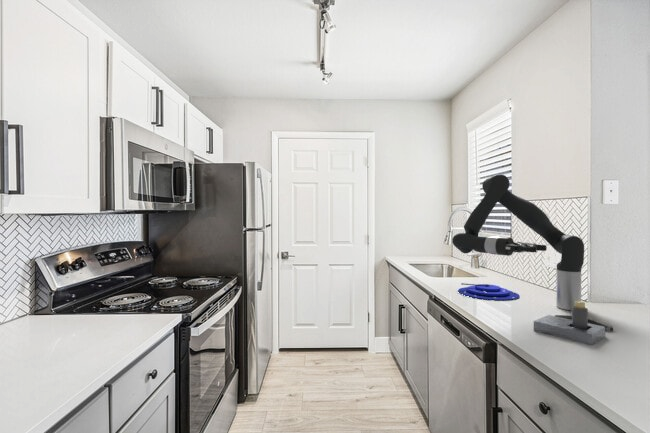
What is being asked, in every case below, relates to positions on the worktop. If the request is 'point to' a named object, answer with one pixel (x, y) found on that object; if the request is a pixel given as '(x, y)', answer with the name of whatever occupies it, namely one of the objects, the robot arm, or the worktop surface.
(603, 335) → the housing
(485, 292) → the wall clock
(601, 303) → the worktop surface
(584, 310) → the plug
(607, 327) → the handgun
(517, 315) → the worktop surface
